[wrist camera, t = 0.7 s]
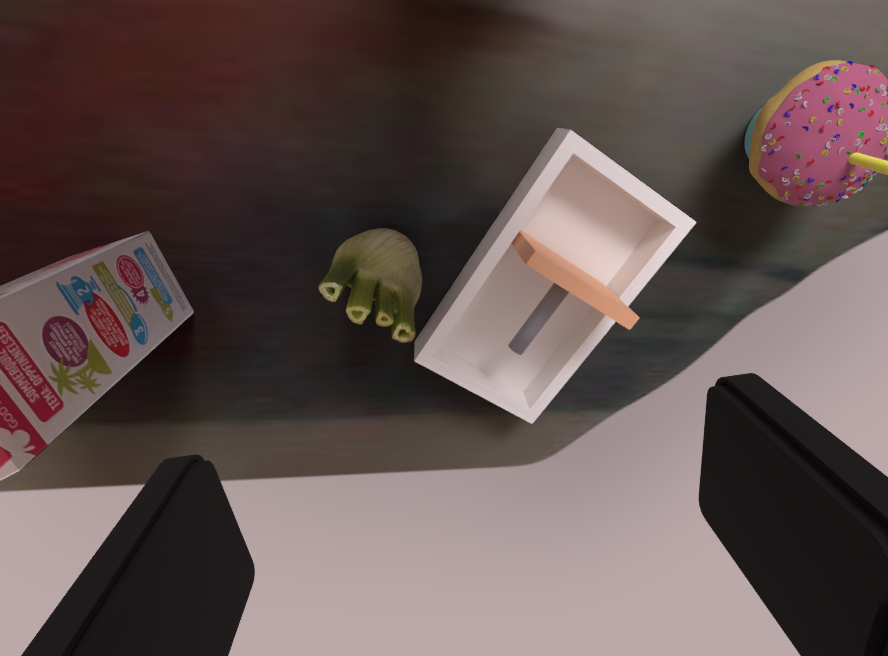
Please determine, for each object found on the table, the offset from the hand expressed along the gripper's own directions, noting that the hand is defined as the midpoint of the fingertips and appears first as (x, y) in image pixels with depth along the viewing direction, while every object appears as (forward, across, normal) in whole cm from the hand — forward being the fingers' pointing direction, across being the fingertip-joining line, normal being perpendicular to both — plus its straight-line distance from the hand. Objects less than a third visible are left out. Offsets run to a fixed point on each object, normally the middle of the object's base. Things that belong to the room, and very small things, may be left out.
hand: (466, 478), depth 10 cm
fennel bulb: (+30, +4, +3) cm, 30 cm away
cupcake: (+30, -25, -1) cm, 39 cm away
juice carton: (+30, +23, +2) cm, 38 cm away
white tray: (+29, -7, +7) cm, 31 cm away
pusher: (+28, -7, +8) cm, 30 cm away
